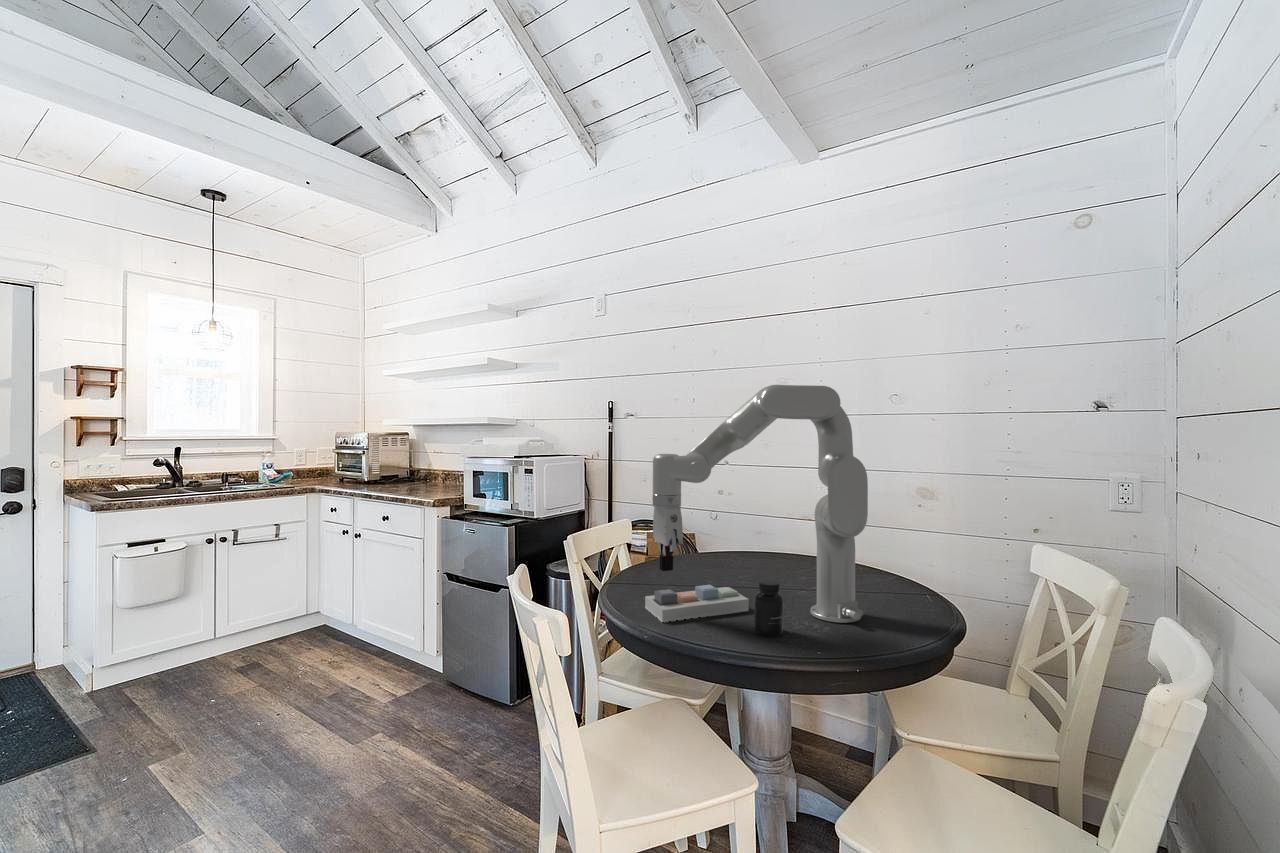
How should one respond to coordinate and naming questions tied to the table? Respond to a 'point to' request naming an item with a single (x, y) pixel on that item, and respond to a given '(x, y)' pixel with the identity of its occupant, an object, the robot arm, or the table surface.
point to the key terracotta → (686, 597)
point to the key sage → (727, 592)
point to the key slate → (706, 592)
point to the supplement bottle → (768, 609)
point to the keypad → (697, 608)
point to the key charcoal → (665, 597)
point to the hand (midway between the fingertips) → (666, 569)
